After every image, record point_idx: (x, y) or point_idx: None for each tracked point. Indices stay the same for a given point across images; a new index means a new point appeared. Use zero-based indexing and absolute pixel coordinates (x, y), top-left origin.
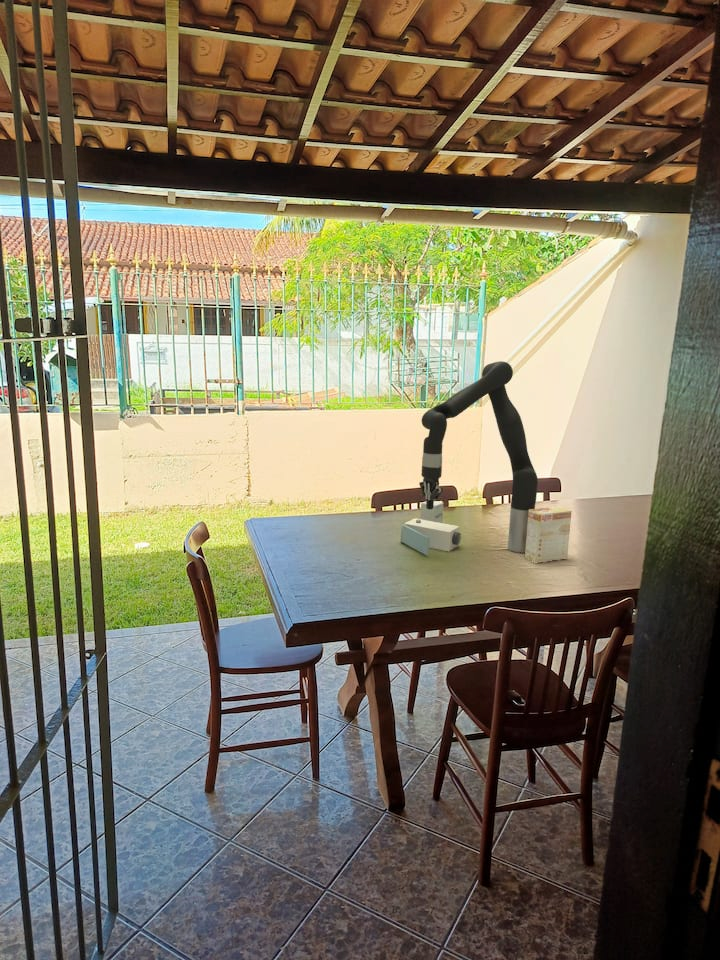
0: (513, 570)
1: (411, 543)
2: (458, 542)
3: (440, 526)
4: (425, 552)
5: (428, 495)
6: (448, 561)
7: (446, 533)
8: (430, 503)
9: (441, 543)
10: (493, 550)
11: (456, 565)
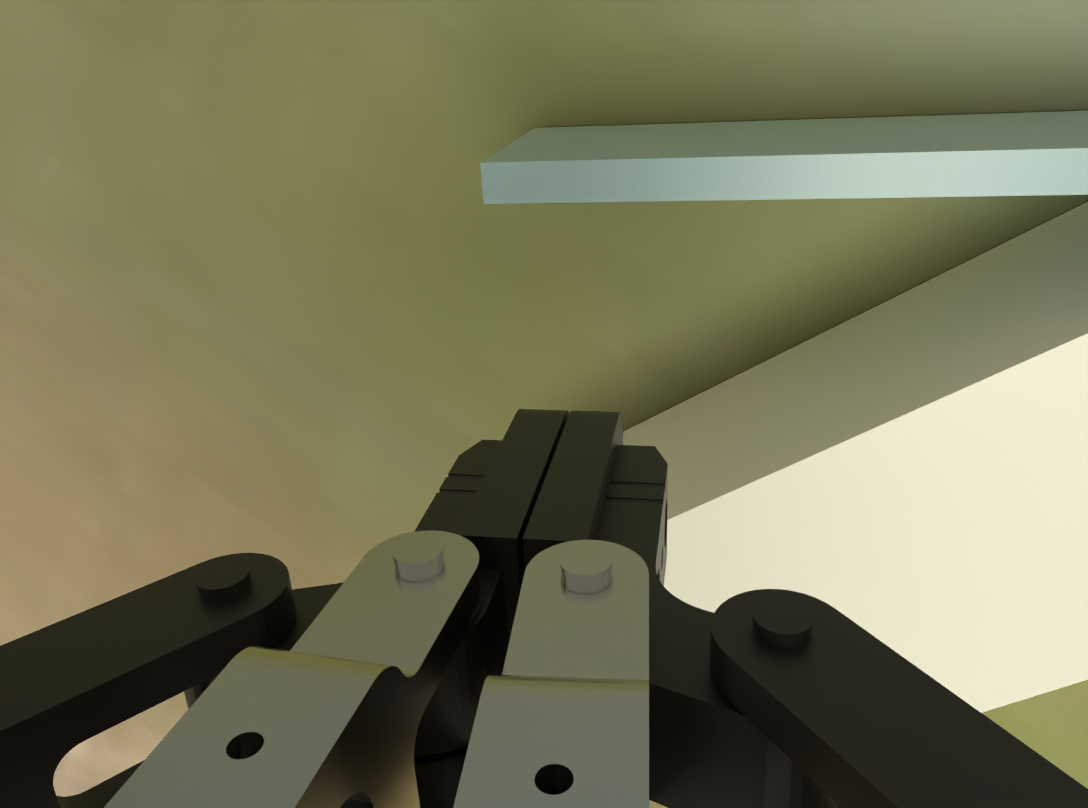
0: (34, 608)
1: (908, 121)
2: None
3: None
4: (556, 129)
5: (422, 640)
6: (343, 272)
7: None
8: (429, 510)
9: (667, 440)
10: None
11: (222, 278)
